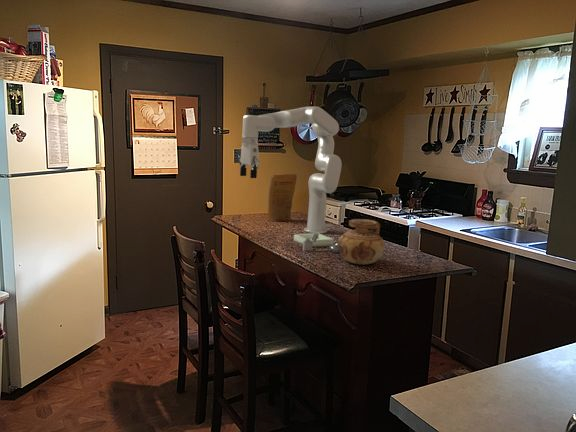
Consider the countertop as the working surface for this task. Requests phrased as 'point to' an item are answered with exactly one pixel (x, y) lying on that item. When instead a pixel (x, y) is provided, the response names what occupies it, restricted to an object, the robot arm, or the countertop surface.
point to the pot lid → (334, 248)
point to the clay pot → (362, 242)
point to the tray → (320, 240)
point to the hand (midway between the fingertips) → (248, 176)
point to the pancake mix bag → (281, 197)
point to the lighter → (309, 242)
